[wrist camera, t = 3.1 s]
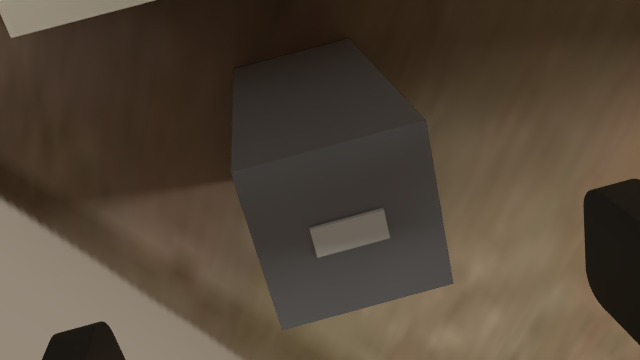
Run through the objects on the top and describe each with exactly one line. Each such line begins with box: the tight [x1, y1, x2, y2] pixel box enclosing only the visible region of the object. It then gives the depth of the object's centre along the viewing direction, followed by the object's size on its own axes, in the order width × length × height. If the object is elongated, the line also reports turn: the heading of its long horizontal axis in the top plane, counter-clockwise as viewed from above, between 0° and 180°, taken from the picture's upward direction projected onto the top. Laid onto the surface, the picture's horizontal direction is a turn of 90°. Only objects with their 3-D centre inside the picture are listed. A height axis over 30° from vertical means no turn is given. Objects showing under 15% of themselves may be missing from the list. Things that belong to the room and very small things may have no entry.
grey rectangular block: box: [231, 38, 453, 330], centre depth 17 cm, size 4×4×9 cm
